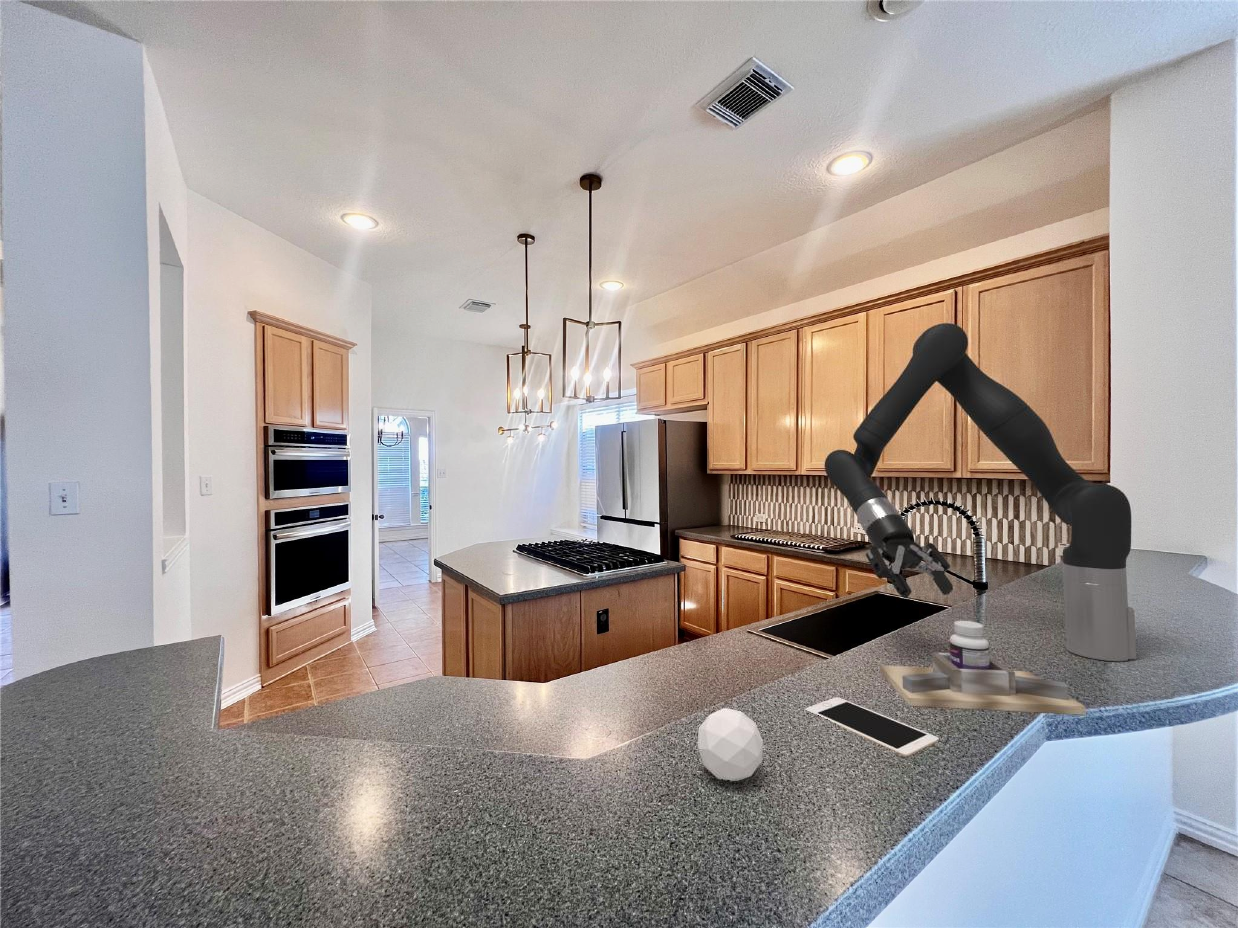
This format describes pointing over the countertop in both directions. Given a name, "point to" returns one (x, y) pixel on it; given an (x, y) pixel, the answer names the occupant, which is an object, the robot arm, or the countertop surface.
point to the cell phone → (874, 726)
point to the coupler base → (979, 688)
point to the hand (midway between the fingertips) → (928, 593)
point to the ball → (730, 745)
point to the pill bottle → (969, 646)
